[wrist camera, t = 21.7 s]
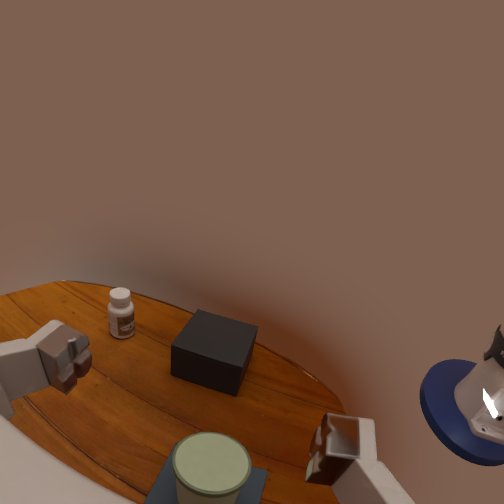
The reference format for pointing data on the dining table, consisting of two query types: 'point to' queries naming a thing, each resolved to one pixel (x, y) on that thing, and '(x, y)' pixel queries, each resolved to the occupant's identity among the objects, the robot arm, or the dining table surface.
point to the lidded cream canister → (210, 468)
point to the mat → (165, 491)
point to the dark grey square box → (213, 351)
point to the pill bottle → (121, 313)
